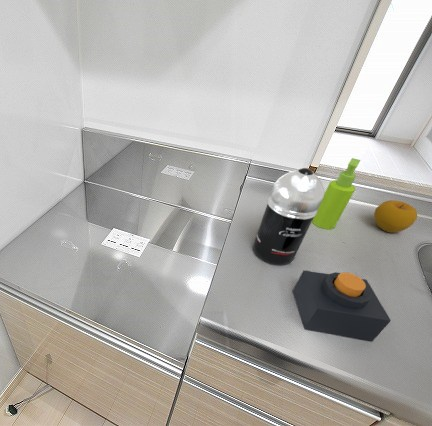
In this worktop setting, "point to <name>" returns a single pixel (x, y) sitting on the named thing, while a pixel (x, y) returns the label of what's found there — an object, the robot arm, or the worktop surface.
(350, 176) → the soap dispenser
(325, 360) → the worktop surface
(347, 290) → the orange disc
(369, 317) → the button base
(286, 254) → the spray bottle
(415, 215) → the apple
